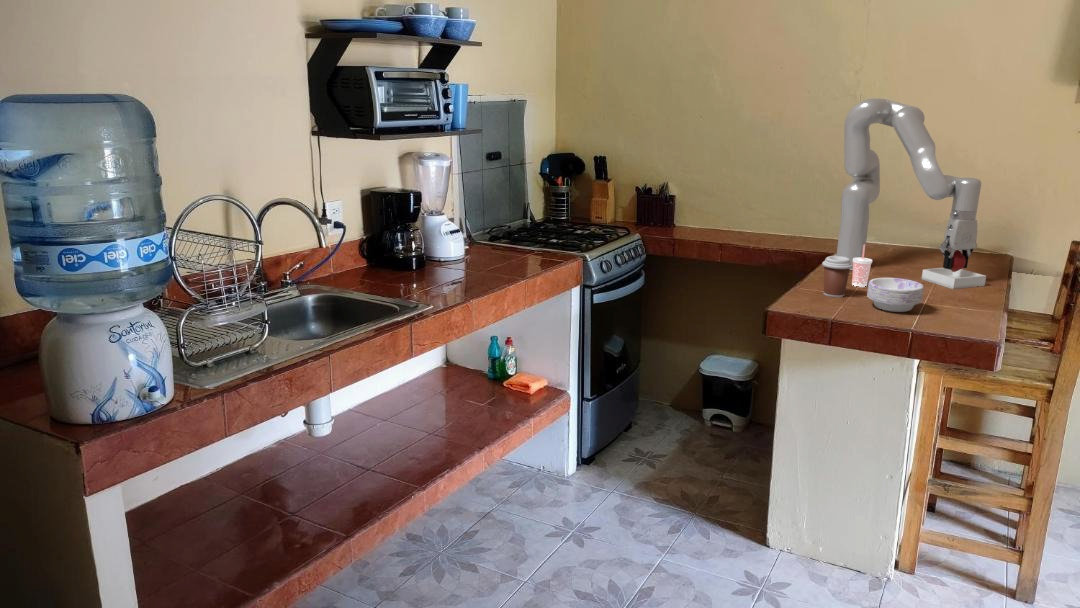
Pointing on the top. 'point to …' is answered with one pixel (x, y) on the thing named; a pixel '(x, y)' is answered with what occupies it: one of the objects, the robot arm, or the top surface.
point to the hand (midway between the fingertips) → (954, 267)
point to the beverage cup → (861, 270)
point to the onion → (958, 261)
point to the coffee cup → (836, 275)
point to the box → (953, 278)
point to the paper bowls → (895, 293)
